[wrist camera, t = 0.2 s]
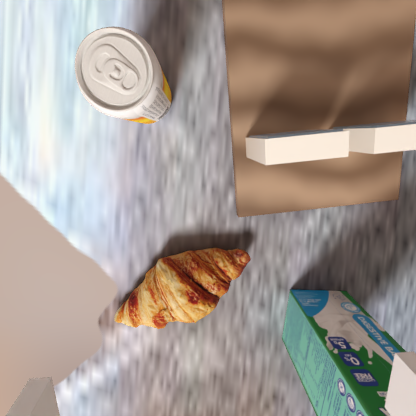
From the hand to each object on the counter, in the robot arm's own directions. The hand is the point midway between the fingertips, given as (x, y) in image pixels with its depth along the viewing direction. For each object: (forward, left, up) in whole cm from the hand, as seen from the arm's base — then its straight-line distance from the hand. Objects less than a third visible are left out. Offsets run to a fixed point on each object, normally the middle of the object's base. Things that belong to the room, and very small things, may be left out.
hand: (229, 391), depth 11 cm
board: (-11, +16, -28) cm, 34 cm away
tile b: (-7, +10, -26) cm, 29 cm away
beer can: (-14, -5, -28) cm, 32 cm away
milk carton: (+20, +16, -28) cm, 38 cm away
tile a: (-7, +21, -26) cm, 34 cm away
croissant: (+11, -4, -28) cm, 30 cm away
